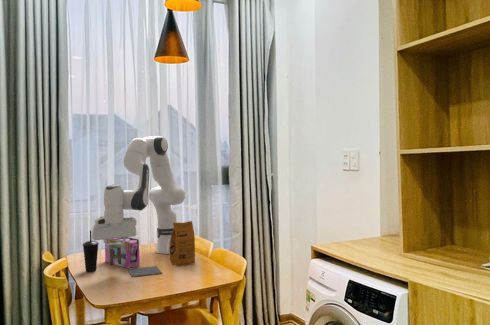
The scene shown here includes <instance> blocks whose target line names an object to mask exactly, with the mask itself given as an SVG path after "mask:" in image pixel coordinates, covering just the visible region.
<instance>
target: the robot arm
mask: <svg viewBox="0 0 490 325" xmlns="http://www.w3.org/2000/svg"><path fill="white" fill-rule="evenodd" d="M168 148H169V146H168V141H167V139H166V138H165V137H164V136H162V135H161V136H160V135H156V136H146V137H143V138H141V137H135V138H134V139H132V140H131V141H130V143H129V144H128V147H127V149H126V152H125V154H124V158H123V166H124V167H125V169H126V170H127V171H128V172H130V173H131V174H134V175H136V176H138V186H137V189H131V190H130V189H128V190H127V189H123V188H122V185H121V184H117V183H116V184H110V185H107V186H106V187H104V192H103V206H104V212H103V214H104V215H102V216H100V217H96V218H94V224H93V226H92V230H91V240H92V241H100V240H101V241H102V240H103V243H104V245H105V244H106V249H107V248H110V247H109V244H107V243H106V241H107V239H113V238H123V242H122V243H121V247H124V242H125V241H126V237H129V238H133V237H136V235H137V227H136V226H137V219H136V218H134V217H133V216H132V217H131V216H130V217H124V210H128V211H129V210H132V211H133V210H134V211H140V212H141V211H143V210H144V209H145V208H147V206H148V205H149V201H150V202H151V203H152V204H153V206H154V210H155V212H156V215H157V228H156V237H157V238H156V240H157V242H156V248H155V252H154V253H157V254H163V255H165V254H166V255H170V240H171V235H172V232H173V228H174V226H173V222H174V223H177V214H176V212H175V211H174V210H173V208H172V207H171V206H177V205H180V204H182V203H184V202H185V199H186V192H185V190H184V189H183V188H181V187H180V186H179V185H178V182H176V179H175V178H174V175H173V173H172V172H173V171H172V169H171V164H170V160H169V156H168V153H167V151H168ZM147 158H149V165H150V168H149V165H148V164H147V163H146V161H147ZM150 169H151V173H152V177H153V180H154V181H155V182H156V183H157V184H158V185H159V186H154V187H152V188H151V189H149V184H150Z"/></svg>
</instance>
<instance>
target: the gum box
mask: <svg viewBox="0 0 490 325" xmlns="http://www.w3.org/2000/svg"><path fill="white" fill-rule="evenodd" d="M118 242H120V243H122V242H123V238H113V239H107V241H106V243H107V244H109V243H118ZM104 254H105V255H104V258H105V259H104V260H105V262H106V263H108V264H111V263H110V248H107V249H106V244H105V243H104ZM117 254H118V253H117V248H113V255H117ZM113 257H114V256H113ZM140 263H141V262H140V239H138V238H133V237H126V241H125V242H124V247H121V264H119V263H118V258H113V265H115V266H119V267H121V268H122V267H123V268H125V269H131V268H134V267H139V266H140Z"/></svg>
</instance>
